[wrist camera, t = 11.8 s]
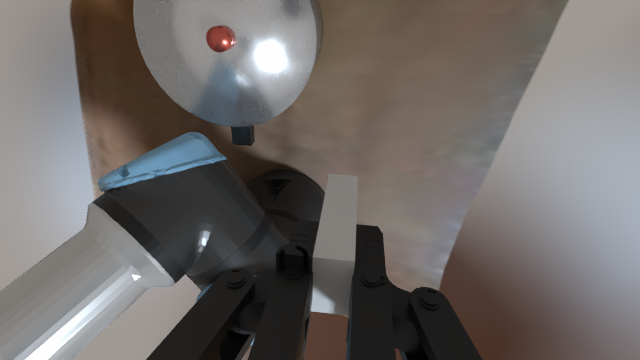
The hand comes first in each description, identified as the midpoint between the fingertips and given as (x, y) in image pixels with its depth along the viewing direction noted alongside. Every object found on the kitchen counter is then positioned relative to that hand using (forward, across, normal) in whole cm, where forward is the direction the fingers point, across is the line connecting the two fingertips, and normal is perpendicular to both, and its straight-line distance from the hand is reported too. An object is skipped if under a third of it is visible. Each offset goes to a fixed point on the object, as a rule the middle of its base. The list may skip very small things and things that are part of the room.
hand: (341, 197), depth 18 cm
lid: (+22, +14, -8) cm, 27 cm away
